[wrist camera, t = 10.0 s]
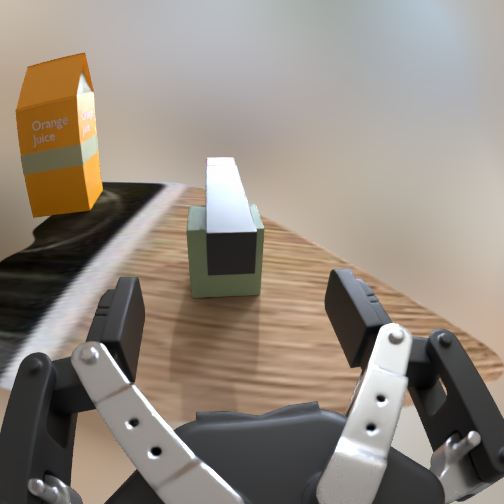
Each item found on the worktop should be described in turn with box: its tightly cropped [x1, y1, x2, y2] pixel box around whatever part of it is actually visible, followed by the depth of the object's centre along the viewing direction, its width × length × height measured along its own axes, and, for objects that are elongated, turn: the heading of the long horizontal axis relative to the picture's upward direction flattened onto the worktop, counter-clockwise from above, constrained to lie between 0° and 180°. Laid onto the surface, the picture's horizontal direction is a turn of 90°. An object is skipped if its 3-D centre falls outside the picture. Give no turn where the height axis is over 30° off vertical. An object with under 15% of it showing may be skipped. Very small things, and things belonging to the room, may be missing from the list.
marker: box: [206, 158, 257, 276], centre depth 21 cm, size 14×2×2 cm, turn 7°
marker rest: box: [187, 205, 264, 298], centre depth 23 cm, size 4×5×6 cm
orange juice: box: [16, 53, 103, 217], centre depth 33 cm, size 8×9×20 cm
